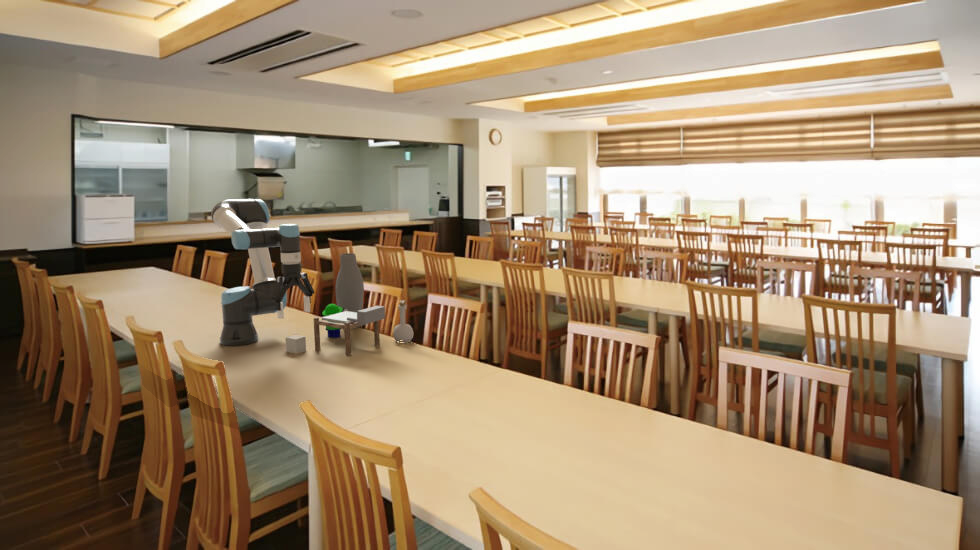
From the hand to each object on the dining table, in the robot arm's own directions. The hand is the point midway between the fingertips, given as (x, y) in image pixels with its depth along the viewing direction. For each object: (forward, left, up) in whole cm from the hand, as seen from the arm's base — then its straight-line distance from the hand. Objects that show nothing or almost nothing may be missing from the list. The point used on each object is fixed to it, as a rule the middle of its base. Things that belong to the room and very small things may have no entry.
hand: (294, 315), depth 234 cm
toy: (-3, +24, -15) cm, 29 cm away
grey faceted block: (+19, +14, -3) cm, 24 cm away
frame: (+15, +14, -15) cm, 25 cm away
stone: (0, 0, -15) cm, 15 cm away
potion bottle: (+29, +33, -15) cm, 46 cm away
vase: (-9, +42, -15) cm, 46 cm away
